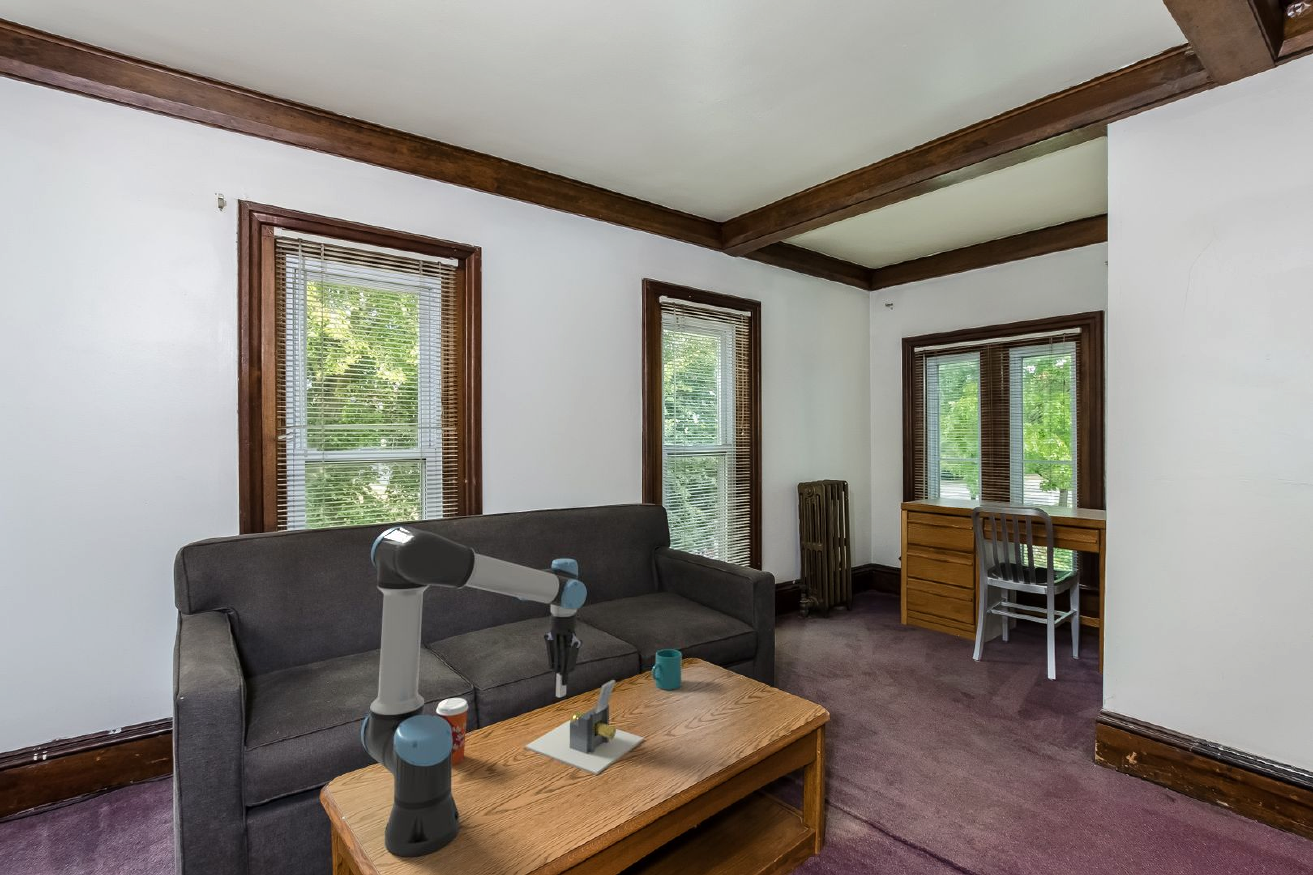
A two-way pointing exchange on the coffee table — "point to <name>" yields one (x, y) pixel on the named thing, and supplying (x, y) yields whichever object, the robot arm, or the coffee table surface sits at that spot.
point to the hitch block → (588, 731)
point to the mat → (559, 749)
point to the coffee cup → (455, 724)
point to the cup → (668, 669)
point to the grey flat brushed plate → (604, 696)
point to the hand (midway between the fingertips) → (561, 695)
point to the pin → (598, 727)
